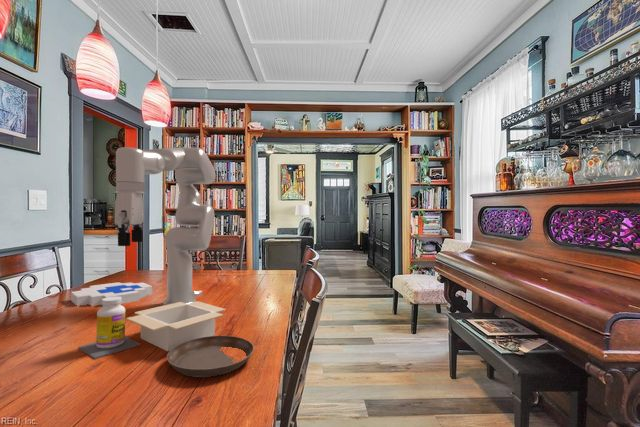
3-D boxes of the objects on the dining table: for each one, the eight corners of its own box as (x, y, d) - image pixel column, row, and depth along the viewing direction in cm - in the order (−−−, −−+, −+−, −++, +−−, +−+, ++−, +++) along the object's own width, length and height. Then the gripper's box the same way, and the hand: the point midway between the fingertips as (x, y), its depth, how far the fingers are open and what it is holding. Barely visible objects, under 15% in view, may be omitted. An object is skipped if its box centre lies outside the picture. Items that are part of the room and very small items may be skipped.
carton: (190, 319, 113) (191, 299, 113) (233, 333, 99) (234, 311, 99) (119, 339, 94) (120, 315, 94) (160, 360, 80) (161, 333, 80)
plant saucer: (224, 340, 95) (224, 328, 95) (270, 361, 82) (270, 348, 82) (151, 364, 79) (151, 350, 79) (194, 395, 66) (194, 378, 66)
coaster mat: (122, 336, 96) (122, 334, 96) (140, 345, 90) (140, 343, 90) (78, 348, 87) (78, 346, 87) (95, 359, 81) (95, 357, 81)
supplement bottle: (110, 350, 85) (111, 302, 85) (90, 348, 86) (90, 300, 86) (130, 341, 92) (131, 296, 92) (110, 339, 93) (111, 294, 93)
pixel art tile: (137, 279, 161) (159, 289, 142) (137, 287, 160) (159, 298, 142) (67, 288, 140) (81, 300, 121) (67, 297, 140) (81, 311, 121)
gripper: (129, 189, 106) (129, 240, 107) (103, 187, 89) (103, 247, 90) (153, 189, 107) (153, 240, 108) (132, 187, 90) (132, 247, 91)
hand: (131, 243), depth 99 cm, fingers open, 9 cm apart
